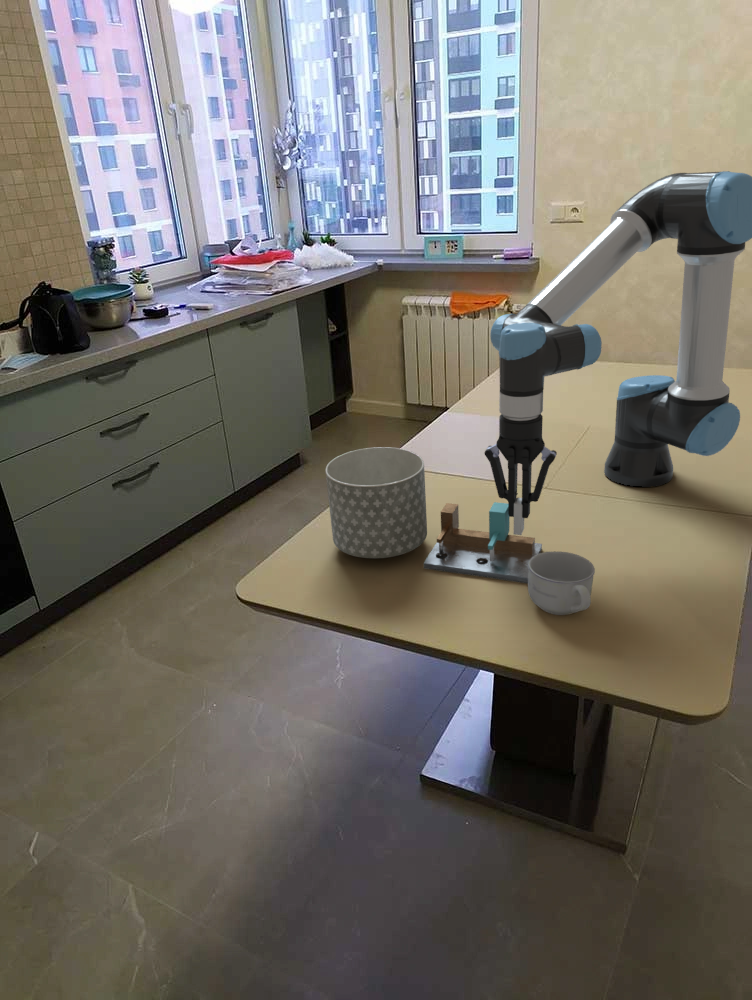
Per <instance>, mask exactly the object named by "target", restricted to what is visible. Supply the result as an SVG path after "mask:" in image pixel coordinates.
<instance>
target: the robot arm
mask: <svg viewBox="0 0 752 1000" xmlns="http://www.w3.org/2000/svg"><path fill="white" fill-rule="evenodd" d="M609 223H610V224H609V225H607V227H605V228H604V230H602V232H600V233H599V234H598V235H597V236H596V237H595V238H594V239H593V240H592V241H591V242H590V243H589V244H588V245H587V246H585V248H584V249H583V250H582V251H581V252H580V253H578V254H577V256H575V257H574V258H573V259H572V260H571V261H570V262H569V263H568V264H567V265H566V266H565V267H564V268H563V269H562V270H561V271H560V272H559V273H558V274H557V275H555V277H554V278H553V279H551V281H549V282H548V283H547V284H546V285H545V286H544V287H543V288H542V289H541V290H540V291H539V292H538V293H537V294H536V295H535V296H534V297H533V298H532V299H531V300H530V301H529V302H528V303H526V305H524V307H523V308H521V309H520V310H519V311H518V312H517V313H516V314H515V313H506V314H503V315H501V316H498V317H497V319H495V321H494V322H493V324H492V326H491V329H490V334H489V335H490V341H491V345H492V346H493V348H495V350H497V351H498V356H499V367H498V368H499V397H498V398H499V400H498V401H499V404H498V405H499V407H498V411H499V413H500V415H499V417H498V419H499V425H498V426H499V428H498V432H499V434H498V435H499V436H498V439H497V441H496V443H495V444H494V445H488V446H487V447H486V449H485V450H484V453H483V454H484V456H485V457H486V459H487V460H488V462H489V464H490V468H491V471H492V475H493V480H494V483H495V488H496V491H497V495H498V498H500V499H505V500H506V501H507V502H508V503H507V504H508V514H509V517H511V518H513V535H515V536H523V535H522V534H523V532H524V529H525V519H528V518H529V516H530V513H531V503H533V502H535V503H536V502H538V501H539V499H540V497H541V494H542V491H543V487H544V484H545V481H546V478H547V475H548V472H549V469H550V466H551V465H552V463H554V461H555V459H556V457H557V451H556V450H554V449H552V450H550V449H549V448H548V447H547V446H545V445H546V444H545V441H544V439H543V420H544V419H543V417H544V416H543V415H542V413H543V412H544V389H545V388H544V387H545V385H544V384H545V377H549V376H552V375H556V374H557V375H558V374H561V373H566V372H570V371H574V370H577V371H578V370H581V369H582V368H585V367H589V366H592V365H594V363H596V362H597V361H598V360H599V358H600V356H601V354H602V348H603V346H602V344H603V343H602V338H601V335H600V333H599V332H598V330H597V328H595V327H594V326H593V325H591V324H588V323H583V324H582V323H581V324H577V323H576V324H573V325H571V326H565V325H563V324H564V323H565V322H567V320H568V319H569V318H571V316H573V314H574V313H576V311H578V310H579V309H580V308H581V307H582V306H583V305H584V304H585V303H586V302H587V301H588V300H589V299H590V298H591V297H592V296H593V295H594V294H595V293H596V292H597V291H598V290H600V288H601V287H602V286H604V284H605V283H606V282H607V281H609V279H611V278H612V277H613V276H614V275H615V274H616V272H618V270H620V269H621V268H622V267H623V266H624V265H625V264H626V263H627V262H628V261H629V260H630V259H631V258H633V256H634V255H635V254H637V253H643V252H645V251H647V250H648V249H649V248H650V247H652V245H653V244H654V243H656V242H658V241H662V240H664V239H665V240H666V239H675V240H677V244H676V245H677V246H676V248H677V249H676V254H677V255H678V256H679V258H680V259H682V260H683V262H684V269H683V270H684V271H683V283H682V297H681V309H680V310H681V311H680V327H679V328H680V329H679V337H678V338H679V341H678V354H677V367H676V368H677V370H676V379H674V378H673V377H672V376H668V375H656V374H654V375H640V376H635V377H634V376H633V377H630V378H627V379H625V380H623V381H621V383H620V384H619V387H618V394H617V397H616V411H615V426H614V427H615V428H614V429H615V430H614V442H613V444H612V446H611V449H610V451H609V453H608V455H607V458H606V460H605V462H604V469H603V470H604V471H603V472H604V473H605V474H604V476H605V475H606V476H607V477H608V478H609V479H608V478H607V477H606V476H605V477H606V478H607V479H608V480H610V479H611V480H610V481H612V482H614V481H615V482H614V483H616V482H617V483H616V484H619V483H621V484H620V485H622V484H624V486H627V485H630V486H629V487H633V486H642V487H641V488H652V487H651V486H654V487H659V486H663V485H665V483H666V484H668V483H669V482H670V481H671V480H672V479H673V476H674V475H673V474H674V465H673V464H674V463H673V461H672V457H671V452H670V449H669V446H672V447H675V448H679V449H681V450H684V451H686V452H687V453H689V454H696V455H700V456H702V457H709V456H713V455H715V454H717V453H719V452H721V451H722V450H723V449H725V448H726V447H727V445H728V444H729V443H730V442H731V441H732V440H733V438H734V436H735V435H736V432H737V431H738V428H739V426H740V421H741V412H740V409H739V407H738V406H737V405H735V404H734V403H733V402H729V400H730V387H729V386H728V385H727V384H726V383H725V382H724V381H723V377H724V370H725V369H724V368H725V360H726V359H725V357H726V350H727V349H726V348H727V339H728V338H727V337H728V328H729V318H730V308H731V299H732V289H733V281H734V279H733V278H734V270H735V269H734V268H735V260H736V259H737V257H738V256H739V255H740V254H742V252H744V251H745V250H746V249H745V248H746V242H749V241H750V240H751V239H752V175H750V174H748V173H745V172H734V171H729V170H728V171H726V170H723V171H706V172H677V173H673V174H672V173H671V174H669V175H665V176H664V177H661V178H659V179H656V180H655V181H653V182H651V183H649V184H648V185H646V186H645V187H644V188H642V189H640V190H639V191H638V192H637V193H635V194H633V195H632V196H631V197H630V198H629V199H628V200H626V201H625V202H624V203H623V204H622V205H621V206H620V207H619V208H617V210H616V211H615V212H613V214H612V215H611V218H610V222H609ZM500 453H501V455H502V456H503V458H504V459H505V460H506V461H507V469H508V470H507V471H508V474H507V476H508V477H507V479H508V480H507V481H508V482H506V479H505V473H504V471H503V467H502V462H501V459H500V458H501V457H500ZM540 454H541V461H543V462H542V463H541V464H542V465H541V467H540V470H539V473H538V476H537V479H536V483H535V487H534V490H533V492H532V467H533V462H534V461H535V460H536V458H538V457H539V455H540ZM518 464H520V465H521V471H522V472H521V473H522V474H521V478H522V481H521V497H518V494H519V493H518V470H519V469H518Z"/></svg>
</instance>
